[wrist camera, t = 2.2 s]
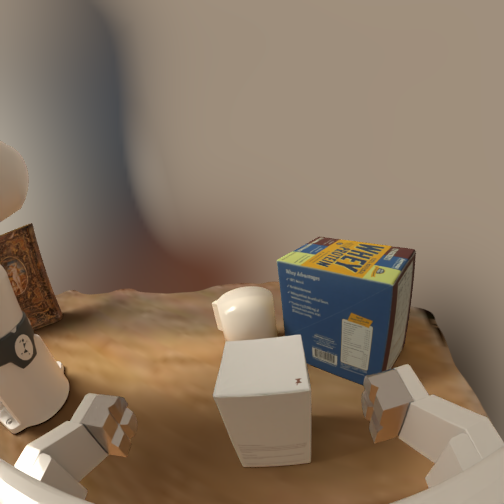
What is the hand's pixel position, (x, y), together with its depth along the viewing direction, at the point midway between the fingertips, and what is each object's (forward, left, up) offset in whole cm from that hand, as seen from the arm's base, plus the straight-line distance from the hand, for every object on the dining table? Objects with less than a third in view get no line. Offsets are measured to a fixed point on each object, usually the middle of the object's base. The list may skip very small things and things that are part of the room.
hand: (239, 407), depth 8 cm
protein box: (+11, +26, -21) cm, 35 cm away
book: (-60, +39, -21) cm, 75 cm away
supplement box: (0, +12, -21) cm, 24 cm away
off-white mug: (-4, +30, -21) cm, 37 cm away
